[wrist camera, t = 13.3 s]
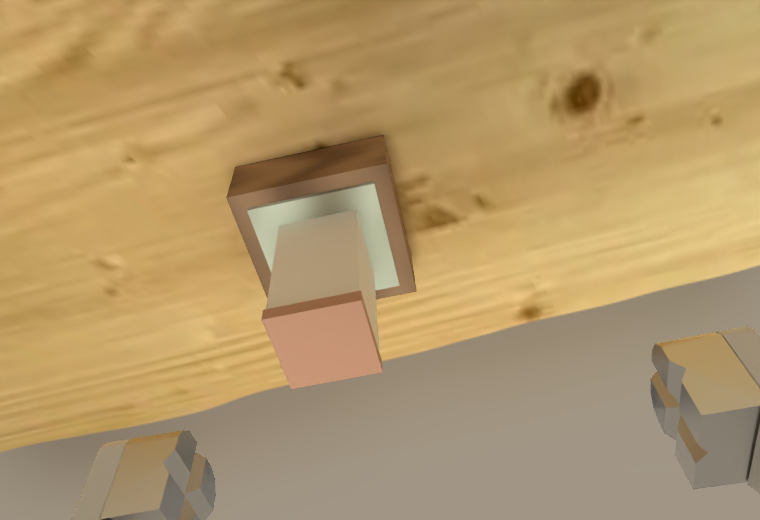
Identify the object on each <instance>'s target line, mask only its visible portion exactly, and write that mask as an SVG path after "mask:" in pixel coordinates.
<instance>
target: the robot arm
mask: <svg viewBox="0 0 760 520" xmlns="http://www.w3.org/2000/svg"><path fill="white" fill-rule="evenodd" d="M652 362H653V364H654V366H655V368H656V370H657V372H656V373H655V375H654V376H653V377H652V378H651V397H652V403H653V408H654V410H655V413H656V416H657V419H658V421H659V423H660V425H661V427H662V429H663V431H664V433H665V434H667V435H668V436H670V437H672V438H673V439H675V440H676V457H677V459H678V461H679V463H680V465H681V467H682V469H683V471H684V472H685V474H686V476H687V478H688V480H689V482H690V484H691V486H692V488H693V489H698V488H706V487H714V486H720V485H728V484H735V483H743V482H748V485H749V486H750V487H751V488H753V489H754V490H756V491H757V492H758V493H760V336H759V335H758V334H757V332H756V331H755V330H754V329H752V328H751V327H749V326H745V327H740V328H735V329H729V330H724V331H719V332H716V333H707V334H702V335H697V336H692V337H687V338H681V339H676V340H672V341H666V342H661V343H656V344H655V345H654V347H653V349H652ZM196 445H197V441H196V440H195V438H194V437H193V435H192V434H191V432H190V431H184V430H183V431H177V432H170V433H164V434H158V435H151V436H144V437H138V438H132V439H128V440H122V441H116V442H109V443H105V444H104V445H103V446H102V447H101V448H100V449H99V450H98V452H97V455H96V457H95V460H94V463H93V465H92V468H91V471H90V473H89V476H88V478H87V481H86V483H85V486H84V489H83V492H82V494H81V496H80V499H79V502H78V504H77V507H76V510H75V512H74V515H73V517H72V520H205V519H206V518H207V517H208V516H209V515H210V513H211V512H212V511H213V507H214V502H215V496H216V494H215V478H214V474H213V471H212V468H211V465H210V464H209V462H208V460H207V458H205V457H203V456H201V455H199V454H197V453H195V450H196Z"/></svg>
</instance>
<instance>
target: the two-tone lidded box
mask: <svg viewBox="0 0 760 520" xmlns="http://www.w3.org/2000/svg"><path fill="white" fill-rule="evenodd" d="M262 322H263V324H264V326H265V329H266V331H267V333H268V336H269V338H270V340H271V343H272V345H273V347H274V350H275V352H276V355H277V357H278V359H279V362H280V364H281V366H282V369H283V371H284V373H285V376H286V378H287V380H288V383H289V385H290V387H291V389H293V388H298V387H304V386H309V385H315V384H321V383H326V382H331V381H337V380H342V379H347V378H353V377H358V376H364V375H369V374H374V373H380V372H382V371H383V370H382V360H381V357H380V353H379V340H378V325H377V309H376V293H375V277H374V270H373V266H372V263H371V259H370V255H369V252H368V248H367V244H366V241H365V237H364V233H363V230H362V226H361V223H360V219H359V215H358V212H357V209H355V210H351V211H346V212H341V213H336V214H331V215H327V216H322V217H317V218H312V219H307V220H303V221H298V222H293V223H288V224H284V225H279V228H278V234H277V241H276V247H275V254H274V260H273V267H272V274H271V280H270V287H269V293H268V300H267V306H266V309H265V310H263V315H262Z"/></svg>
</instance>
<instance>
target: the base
mask: <svg viewBox="0 0 760 520" xmlns="http://www.w3.org/2000/svg"><path fill="white" fill-rule="evenodd" d="M226 198H227V200H228V203H229V205H230V208H231V210H232V213H233V215H234V217H235V220H236V222H237V225H238V227H239V230H240V232H241V235H242V237H243V240H244V242H245V244H246V247H247V249H248V252H249V254H250V257H251V259H252V262H253V264H254V266H255V269H256V271H257V274H258V276H259V279H260V281H261V284H262V286H263V289H264V291H265V293H266V296H267V298H268V293H269V287H270V280H271V274H272V267H273V260H274V254H275V247H276V241H277V234H278V228H279V225H284V224H288V223H293V222H298V221H303V220H307V219H312V218H317V217H322V216H327V215H331V214H336V213H341V212H346V211H351V210H355V209H357V212H358V215H359V219H360V223H361V226H362V230H363V233H364V237H365V241H366V244H367V248H368V252H369V255H370V259H371V263H372V266H373V270H374V277H375V293H376V299H380V298H386V297H391V296H396V295H401V294H406V293H411V292H416V285H415V278H414V271H413V264H412V258H411V253H410V249H409V244H408V240H407V236H406V231H405V227H404V223H403V218H402V214H401V209H400V205H399V201H398V196H397V192H396V188H395V183H394V179H393V175H392V170H391V166H390V161H389V157H388V153H387V148H386V144H385V140H384V135H382V136H377V137H372V138H368V139H363V140H359V141H354V142H350V143H345V144H340V145H336V146H331V147H327V148H322V149H317V150H313V151H308V152H304V153H299V154H294V155H290V156H285V157H281V158H276V159H272V160H267V161H262V162H258V163H253V164H249V165H244V166H239V167H235V170H234V174H233V177H232V181H231V184H230V187H229V191H228V194H227V197H226Z"/></svg>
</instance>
